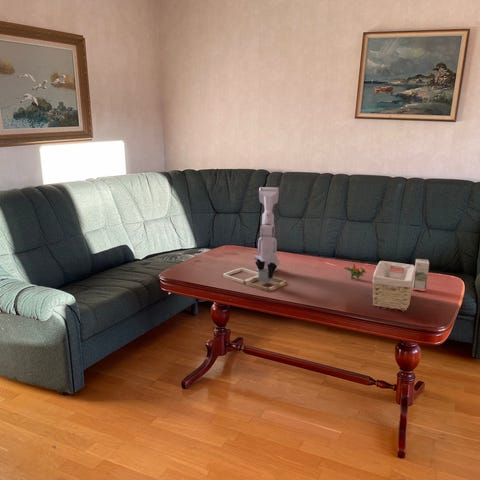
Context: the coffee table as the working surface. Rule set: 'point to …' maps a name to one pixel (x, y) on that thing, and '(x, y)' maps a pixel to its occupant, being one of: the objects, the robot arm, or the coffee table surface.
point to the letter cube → (264, 275)
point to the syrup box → (420, 274)
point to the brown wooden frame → (248, 282)
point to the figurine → (355, 271)
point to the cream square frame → (226, 275)
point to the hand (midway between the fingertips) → (266, 276)
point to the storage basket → (392, 285)
